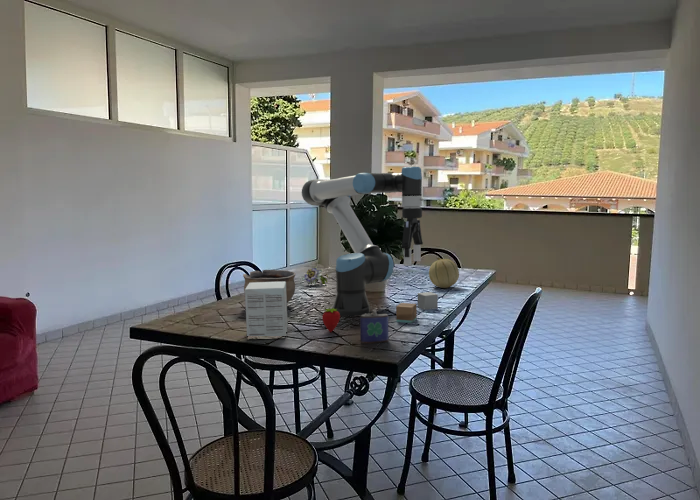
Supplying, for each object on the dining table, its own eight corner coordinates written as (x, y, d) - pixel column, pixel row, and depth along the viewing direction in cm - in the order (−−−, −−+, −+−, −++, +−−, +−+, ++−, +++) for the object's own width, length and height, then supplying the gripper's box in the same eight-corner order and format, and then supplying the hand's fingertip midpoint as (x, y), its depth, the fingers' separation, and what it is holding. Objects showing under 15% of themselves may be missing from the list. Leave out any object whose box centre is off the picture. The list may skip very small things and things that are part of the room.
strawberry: (344, 330, 180) (343, 302, 179) (334, 335, 173) (333, 307, 172) (329, 328, 183) (328, 301, 181) (318, 334, 176) (318, 305, 175)
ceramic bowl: (268, 300, 233) (266, 267, 231) (306, 304, 222) (305, 270, 220) (233, 310, 214) (232, 275, 213) (274, 316, 203) (272, 278, 201)
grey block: (424, 310, 208) (424, 295, 207) (417, 307, 214) (417, 293, 213) (437, 308, 210) (437, 294, 209) (430, 305, 216) (430, 291, 215)
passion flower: (310, 296, 267) (297, 278, 267) (320, 288, 277) (306, 271, 277) (325, 285, 262) (311, 267, 262) (334, 278, 271) (320, 260, 271)
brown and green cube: (411, 323, 188) (411, 307, 187) (396, 322, 190) (396, 306, 190) (416, 319, 193) (416, 304, 193) (401, 318, 196) (401, 302, 195)
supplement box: (251, 330, 183) (249, 282, 181) (288, 328, 184) (286, 280, 182) (246, 340, 170) (243, 289, 168) (286, 339, 171) (284, 287, 169)
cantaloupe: (459, 290, 246) (459, 260, 244) (428, 290, 248) (428, 259, 247) (458, 285, 260) (458, 256, 259) (429, 284, 263) (428, 256, 261)
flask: (388, 340, 167) (387, 308, 166) (389, 342, 164) (389, 310, 163) (360, 341, 166) (359, 309, 165) (361, 344, 164) (360, 311, 162)
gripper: (412, 208, 182) (413, 268, 184) (429, 206, 204) (429, 259, 207) (392, 208, 185) (393, 267, 187) (411, 206, 207) (412, 259, 210)
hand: (412, 263), depth 197 cm, fingers open, 12 cm apart
